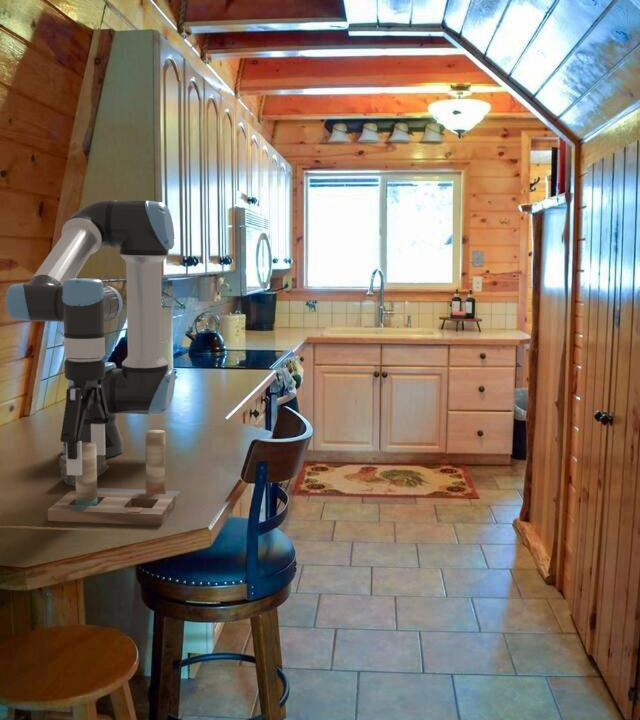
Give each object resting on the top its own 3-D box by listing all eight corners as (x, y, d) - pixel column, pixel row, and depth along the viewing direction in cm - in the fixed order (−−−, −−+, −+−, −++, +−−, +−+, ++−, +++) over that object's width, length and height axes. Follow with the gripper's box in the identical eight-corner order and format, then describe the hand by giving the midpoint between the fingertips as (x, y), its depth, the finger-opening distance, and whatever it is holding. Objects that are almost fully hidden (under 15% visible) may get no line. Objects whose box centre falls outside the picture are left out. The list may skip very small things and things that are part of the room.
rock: (102, 470, 163) (56, 458, 161) (94, 498, 163) (49, 487, 162) (115, 448, 179) (74, 437, 178) (108, 474, 180) (67, 463, 179)
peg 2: (148, 492, 161) (148, 429, 159) (167, 493, 161) (167, 430, 159) (143, 498, 157) (143, 433, 155) (162, 499, 157) (162, 434, 155)
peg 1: (100, 510, 150) (99, 442, 148) (93, 517, 146) (92, 447, 144) (80, 509, 150) (79, 441, 149) (73, 516, 146) (71, 447, 144)
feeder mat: (90, 489, 163) (90, 487, 163) (180, 492, 163) (180, 491, 163) (77, 501, 155) (77, 499, 155) (172, 504, 155) (172, 502, 155)
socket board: (70, 502, 154) (70, 489, 154) (175, 506, 154) (175, 493, 153) (47, 522, 143) (47, 508, 142) (161, 526, 142) (161, 513, 142)
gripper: (87, 349, 157) (89, 446, 160) (39, 368, 132) (42, 483, 135) (123, 350, 156) (124, 447, 160) (81, 369, 132) (83, 484, 135)
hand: (87, 464), depth 147 cm, fingers open, 13 cm apart
